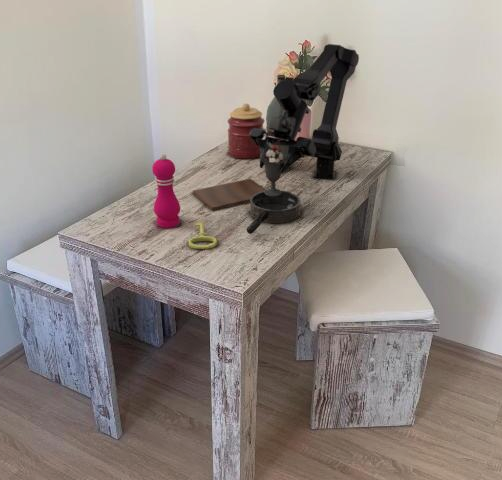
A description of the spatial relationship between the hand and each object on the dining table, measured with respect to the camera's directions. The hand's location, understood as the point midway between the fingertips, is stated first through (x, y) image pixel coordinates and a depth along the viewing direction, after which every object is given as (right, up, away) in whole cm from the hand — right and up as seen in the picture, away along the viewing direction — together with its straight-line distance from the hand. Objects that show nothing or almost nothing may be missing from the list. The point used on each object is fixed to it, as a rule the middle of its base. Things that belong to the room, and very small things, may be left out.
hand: (270, 169), depth 158 cm
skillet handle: (-4, -16, -4) cm, 16 cm away
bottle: (+5, +8, +38) cm, 39 cm away
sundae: (+1, -6, +5) cm, 8 cm away
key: (-18, -20, -6) cm, 27 cm away
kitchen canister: (-6, +15, +50) cm, 53 cm away
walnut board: (-11, -4, +18) cm, 22 cm away
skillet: (+2, -11, +8) cm, 13 cm away
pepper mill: (-28, -15, +3) cm, 32 cm away
